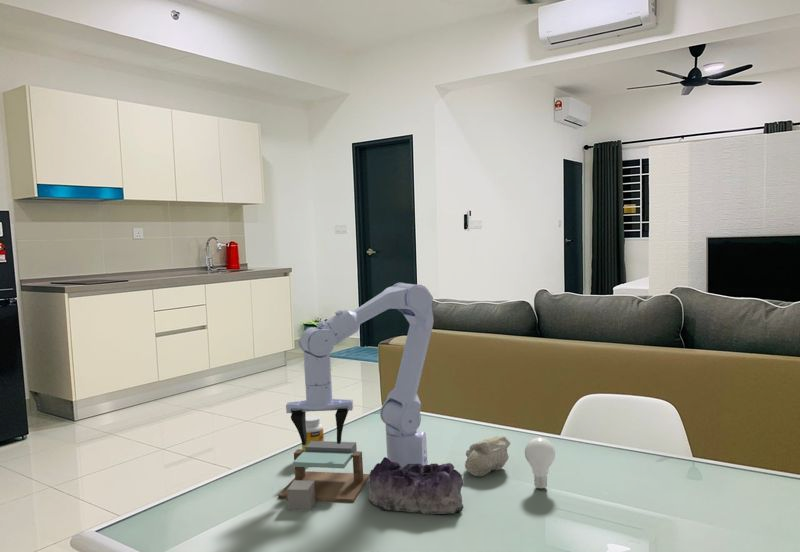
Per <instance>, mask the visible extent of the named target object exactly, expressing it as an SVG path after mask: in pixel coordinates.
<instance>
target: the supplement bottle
mask: <svg viewBox="0 0 800 552" xmlns="http://www.w3.org/2000/svg"><path fill="white" fill-rule="evenodd" d="M306 434H307V443H306V445H302V444H301V449H304V452H306V450H305V447H306V446H307V445H308V444H309V443H310V442H311V441H325V438H324V437H325V436H324V425H323V424H322V423H321V418H320V416H318V415H310V416H306Z"/></svg>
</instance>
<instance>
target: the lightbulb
mask: <svg viewBox="0 0 800 552" xmlns="http://www.w3.org/2000/svg"><path fill="white" fill-rule="evenodd" d="M524 456H525V457H524V458H525V459H526V461H527V462H528V464H529V466H530V467H531V470H532V474H533V477H534V487H535V488H538V489H539V490H544V489H545V488H547V487H548V474H549V471H550V467H551V466H552V464H553V463H554V461H555V458H556V450H555V447H554V445H553V444H552V442H551V441H549V439H547V438H544V437H540V436H538V437H534V438H532V439H530V440H529V441H528V442H527V443H526V445H525V447H524Z"/></svg>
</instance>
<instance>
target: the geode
mask: <svg viewBox="0 0 800 552" xmlns="http://www.w3.org/2000/svg"><path fill="white" fill-rule="evenodd" d="M369 474H370V475H369V481H368V482H369V486H368V493H369V495H368V503H369V504H370V505H371V506H373V507H375V508H377V509H379V510H381V511H393V512H394V511H396V512H408V513H415V514H419V513H421V514H423V515H428V514H431V515H434V514H438V515H440V514H441V515H445V514H456V513H461V512H462V511H463V510H464V504H463V500H462V498H463V496H462V493H461V492H462V488H463V486H464V480H463V476H462V474H461V473H460V472H459V471H458V470H457V469H455V466H454V464H452V463H450V462H447V463H442V464H438V463H430V464H427V465H424V466H423V465H422V464H407V465H406V466H405V467H403V468H402V467H401V465H400V464H399V463H398V462H391V461H390V460H389V459H388V458H387V456H385V457H383V458H382V460H381V461H380V462H377V463H376V464H375V465H374V467H373V468H372V469H371V470H370V472H369Z"/></svg>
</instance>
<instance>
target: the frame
mask: <svg viewBox="0 0 800 552" xmlns="http://www.w3.org/2000/svg"><path fill="white" fill-rule="evenodd" d="M303 452H304V449H302V448H301V449H300V448H298V449H296V450H295V451H294V452H293V462H294V461H295V460H296V459H297V458H298V457H299V456H300V455H301V454H302V453H303ZM363 465H364V464H363V451H358V450H357V451H355V453H354V454H353V457H352V466H353V467H352V470H353V472H352V473H351V472H348V473H347V472H332V471H331V472H329V471H327V472H326V471H306V467H296V466H293V467H294V477H293V479H291V481H290V482H289V483H288V484H287V485H286V486H285V488H283V490H281V492H280V493H279V494H278V497H277V498H278V499H286V500H288V498H287V489H288V488H289V486H290V485H291V484H292V482H293V481H294V480H308V481H314V482H315V499H316V501H326V502H343V503H354V502H355V501H356V500H357V498H358V496H359V495H360V493H361V492H362V490H363V488H364V487H365V485H366V483H367V482H368V480H370V477H369V475H370V473H364V468H363V467H364V466H363Z"/></svg>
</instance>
